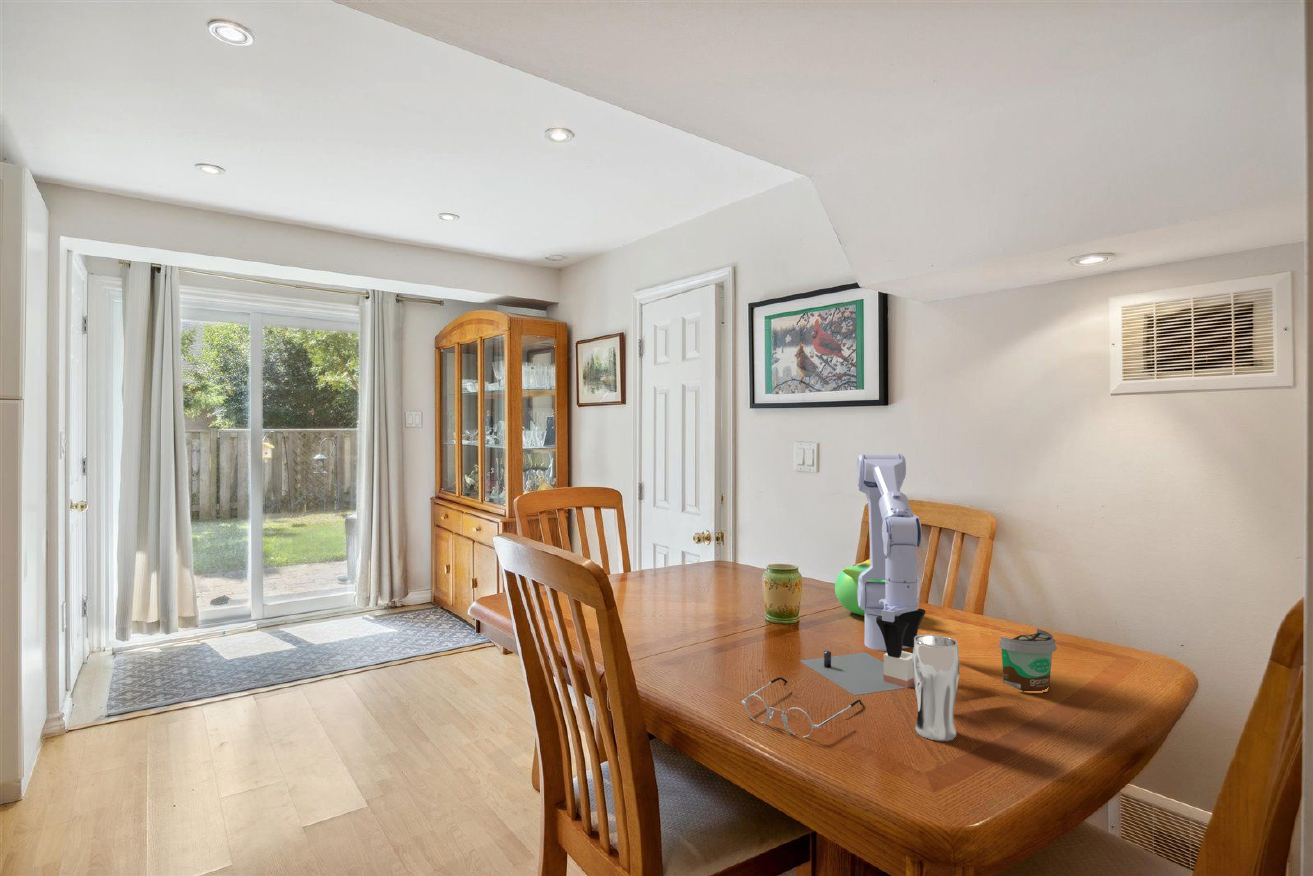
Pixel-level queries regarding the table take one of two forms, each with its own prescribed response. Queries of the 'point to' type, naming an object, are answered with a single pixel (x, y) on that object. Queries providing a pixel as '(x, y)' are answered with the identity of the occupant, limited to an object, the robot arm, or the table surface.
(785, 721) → the eyeglasses
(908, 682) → the sleeve
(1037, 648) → the food container
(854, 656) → the pin board
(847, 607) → the toy bird
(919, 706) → the beer glass
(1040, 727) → the table surface
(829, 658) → the black pin
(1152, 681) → the table surface
